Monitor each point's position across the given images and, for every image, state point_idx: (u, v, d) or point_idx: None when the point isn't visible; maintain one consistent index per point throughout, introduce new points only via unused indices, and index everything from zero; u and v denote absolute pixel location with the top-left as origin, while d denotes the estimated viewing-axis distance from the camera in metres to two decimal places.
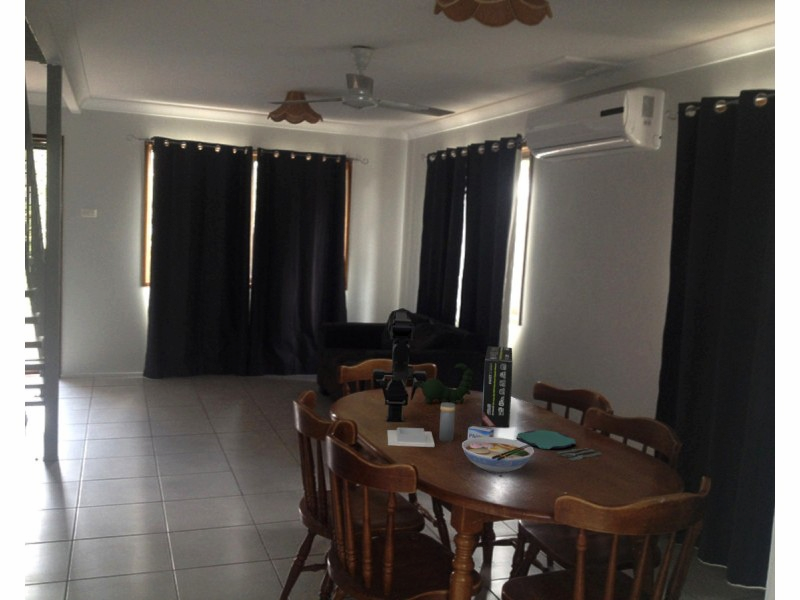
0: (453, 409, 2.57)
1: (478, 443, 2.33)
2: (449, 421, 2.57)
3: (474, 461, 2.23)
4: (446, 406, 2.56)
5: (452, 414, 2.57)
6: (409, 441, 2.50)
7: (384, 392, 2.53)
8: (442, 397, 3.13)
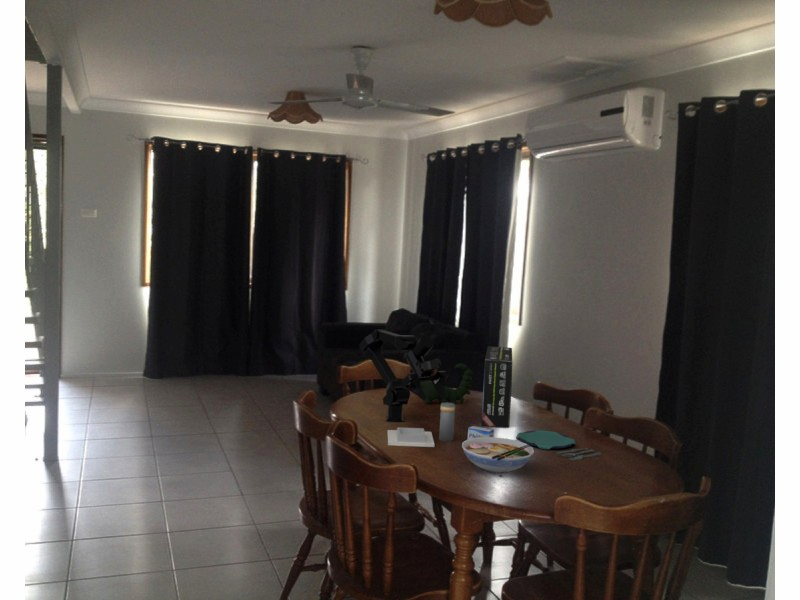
0: (453, 409, 2.57)
1: (478, 443, 2.33)
2: (449, 421, 2.57)
3: (474, 461, 2.23)
4: (446, 406, 2.56)
5: (452, 414, 2.57)
6: (409, 441, 2.50)
7: (422, 392, 2.62)
8: None
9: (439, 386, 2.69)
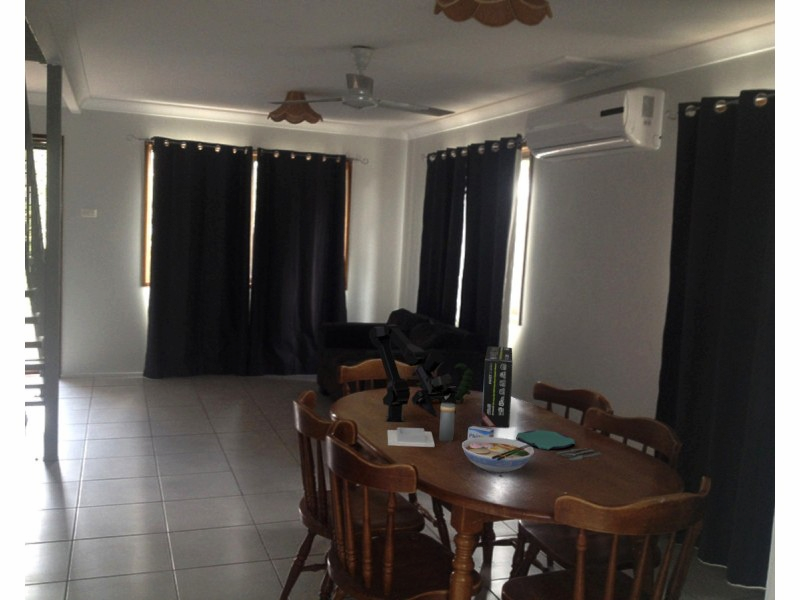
0: (453, 409, 2.57)
1: (478, 443, 2.33)
2: (449, 421, 2.57)
3: (474, 461, 2.23)
4: (446, 406, 2.56)
5: (452, 414, 2.57)
6: (409, 441, 2.50)
7: (433, 409, 2.57)
8: None
9: (450, 402, 2.65)
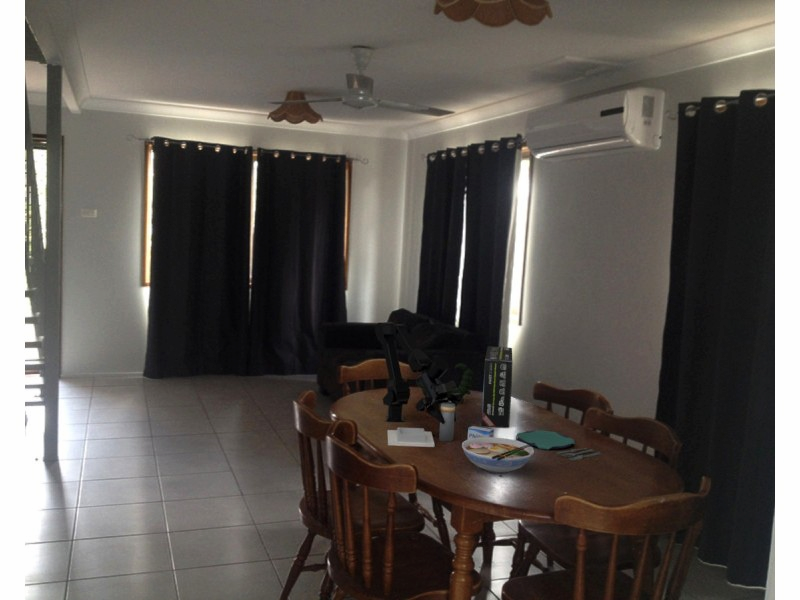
0: (453, 409, 2.57)
1: (478, 443, 2.33)
2: (449, 421, 2.57)
3: (474, 461, 2.23)
4: (446, 406, 2.56)
5: (452, 414, 2.57)
6: (409, 441, 2.50)
7: (441, 415, 2.57)
8: None
9: None
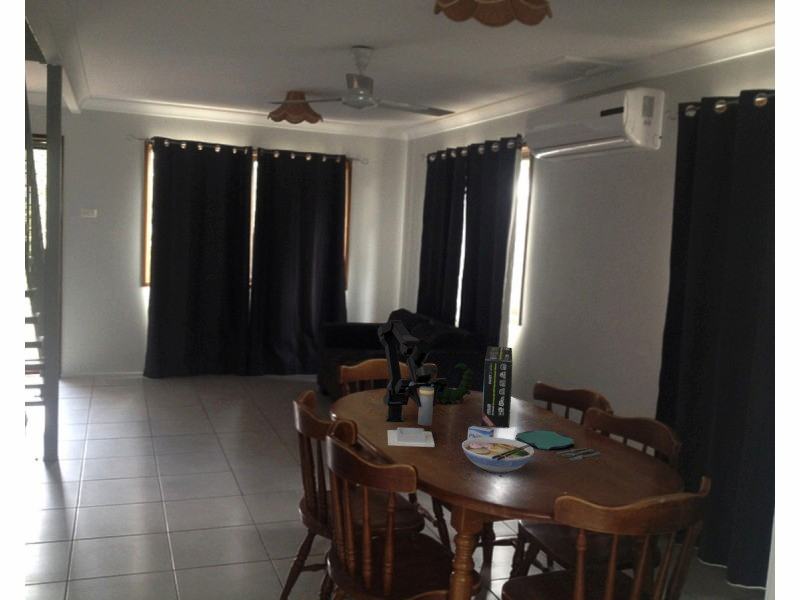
0: (430, 393, 2.53)
1: (478, 443, 2.33)
2: (425, 404, 2.53)
3: (474, 461, 2.23)
4: (423, 389, 2.52)
5: (429, 398, 2.53)
6: (409, 441, 2.50)
7: (418, 399, 2.53)
8: (442, 397, 3.13)
9: None
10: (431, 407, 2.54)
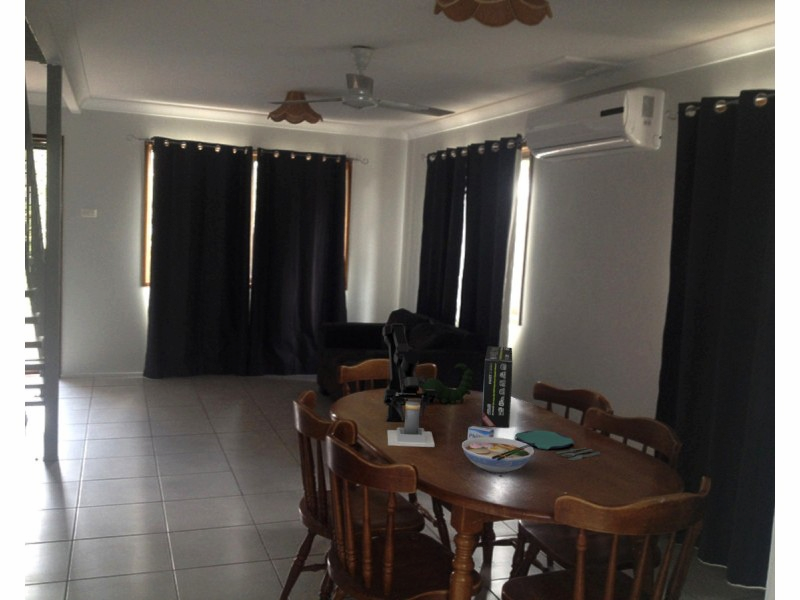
0: (415, 407, 2.52)
1: (478, 443, 2.33)
2: (410, 419, 2.52)
3: (474, 461, 2.23)
4: (408, 403, 2.52)
5: (414, 412, 2.52)
6: (409, 441, 2.50)
7: (401, 409, 2.53)
8: (442, 397, 3.13)
9: (421, 405, 2.57)
10: (416, 422, 2.53)
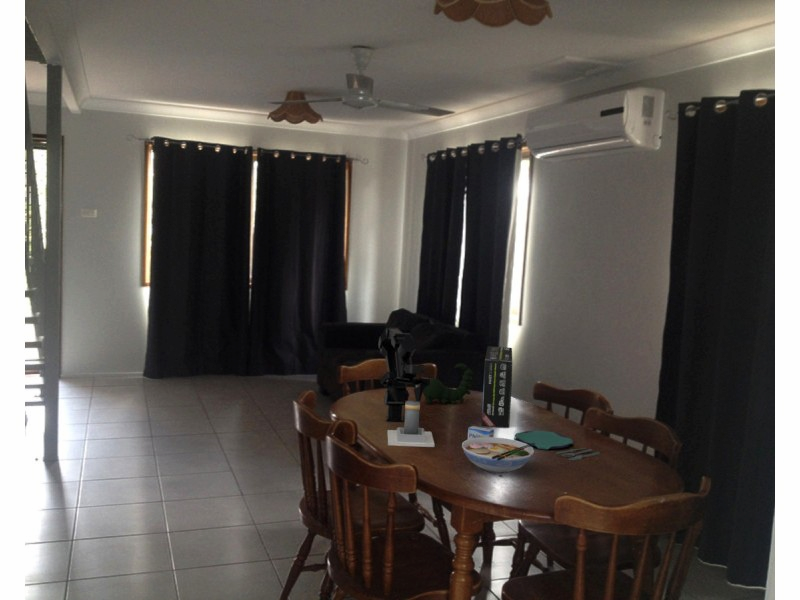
0: (415, 407, 2.52)
1: (478, 443, 2.33)
2: (410, 419, 2.52)
3: (474, 461, 2.23)
4: (408, 404, 2.52)
5: (414, 412, 2.52)
6: (409, 441, 2.50)
7: (396, 393, 2.61)
8: (442, 397, 3.13)
9: (418, 392, 2.67)
10: (416, 422, 2.53)
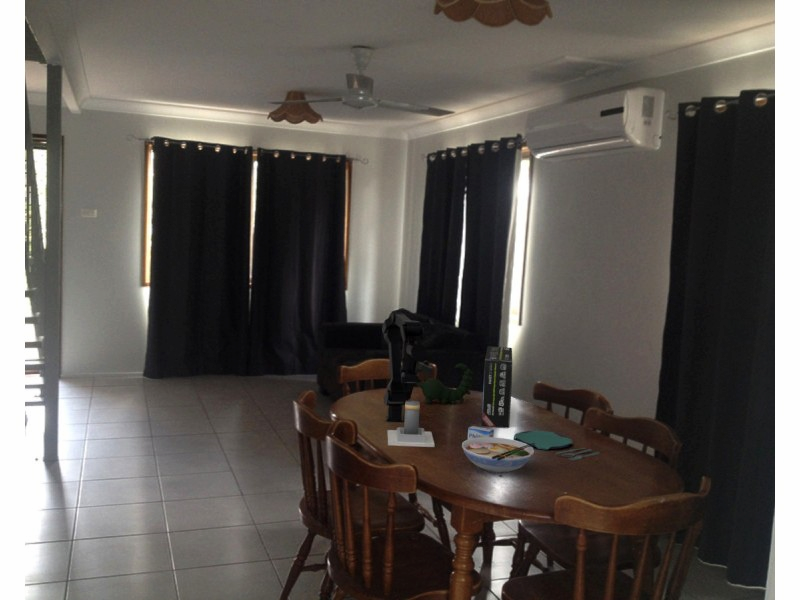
0: (415, 407, 2.52)
1: (478, 443, 2.33)
2: (410, 419, 2.52)
3: (474, 461, 2.23)
4: (407, 404, 2.53)
5: (414, 412, 2.52)
6: (409, 441, 2.50)
7: (411, 393, 2.62)
8: (442, 397, 3.13)
9: None
10: (416, 422, 2.53)
